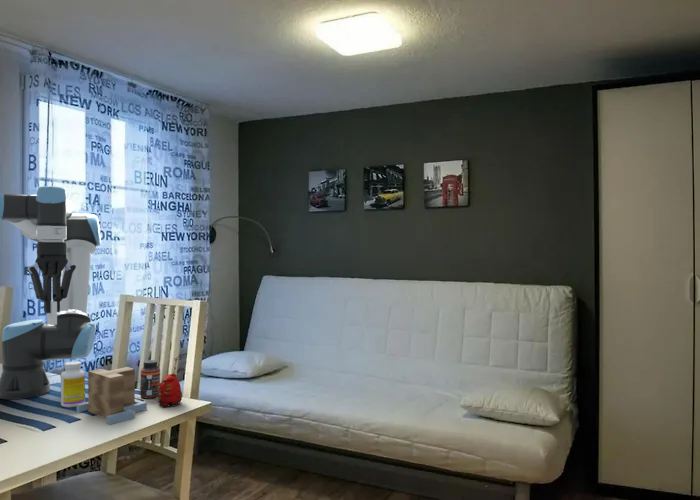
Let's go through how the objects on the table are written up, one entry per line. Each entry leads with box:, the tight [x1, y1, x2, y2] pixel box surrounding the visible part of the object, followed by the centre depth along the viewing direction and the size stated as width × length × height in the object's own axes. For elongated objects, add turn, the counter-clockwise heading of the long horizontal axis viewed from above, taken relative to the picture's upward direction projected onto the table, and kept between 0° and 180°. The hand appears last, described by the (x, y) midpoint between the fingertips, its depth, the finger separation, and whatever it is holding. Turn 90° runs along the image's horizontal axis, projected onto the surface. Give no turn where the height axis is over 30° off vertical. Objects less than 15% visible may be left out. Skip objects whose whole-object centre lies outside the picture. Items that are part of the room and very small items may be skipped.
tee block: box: [87, 366, 136, 420], centre depth 167 cm, size 12×10×12 cm
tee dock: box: [76, 398, 148, 425], centre depth 167 cm, size 18×14×2 cm
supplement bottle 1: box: [60, 360, 86, 408], centre depth 173 cm, size 7×7×13 cm
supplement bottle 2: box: [139, 359, 161, 399], centre depth 183 cm, size 6×6×11 cm
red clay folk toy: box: [157, 354, 183, 408], centre depth 175 cm, size 8×7×15 cm
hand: (52, 324), depth 162 cm, fingers closed
